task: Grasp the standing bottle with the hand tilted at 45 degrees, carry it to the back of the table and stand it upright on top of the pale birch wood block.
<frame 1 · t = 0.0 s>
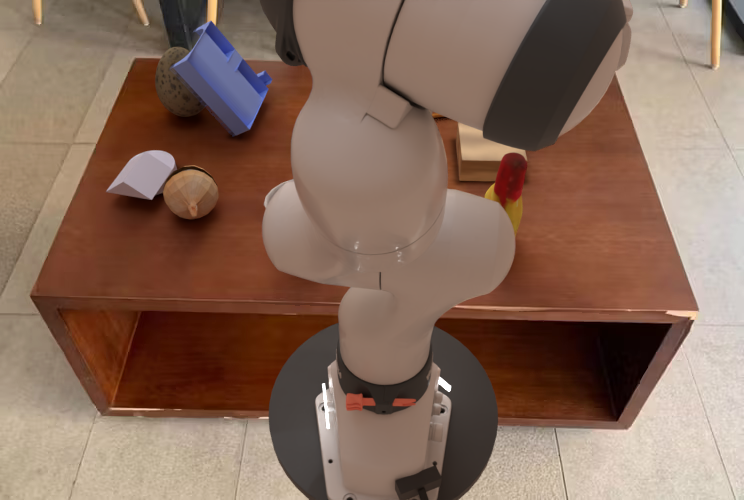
hand: (537, 94, 93), 31 cm above the table, tool pointing down, fingers open, 8 cm apart
decorative egg: (189, 113, 142), on the table, touching blue plastic box
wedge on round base: (127, 196, 120), point 3 cm above the table
bottle: (495, 247, 116), on the table
pencil: (500, 107, 143), point 1 cm above the table
birch block: (488, 161, 132), on the table
chess piece: (345, 150, 134), on the table
acorn: (194, 180, 124), point 2 cm above the table
plastic cup: (313, 249, 115), on the table
decorative sphere: (526, 31, 136), point 15 cm above the table
blue plastic box: (234, 69, 134), point 11 cm above the table, touching decorative egg
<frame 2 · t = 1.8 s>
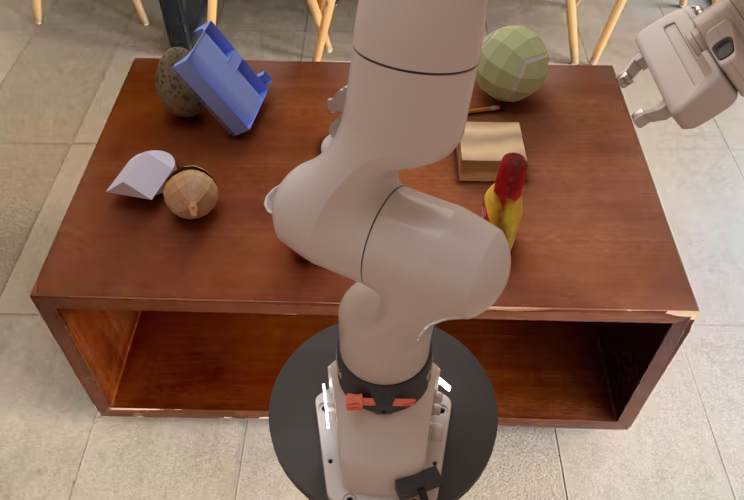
hand: (626, 101, 94), 30 cm above the table, tool tilted 45°, fingers open, 8 cm apart
nothing on the table moved.
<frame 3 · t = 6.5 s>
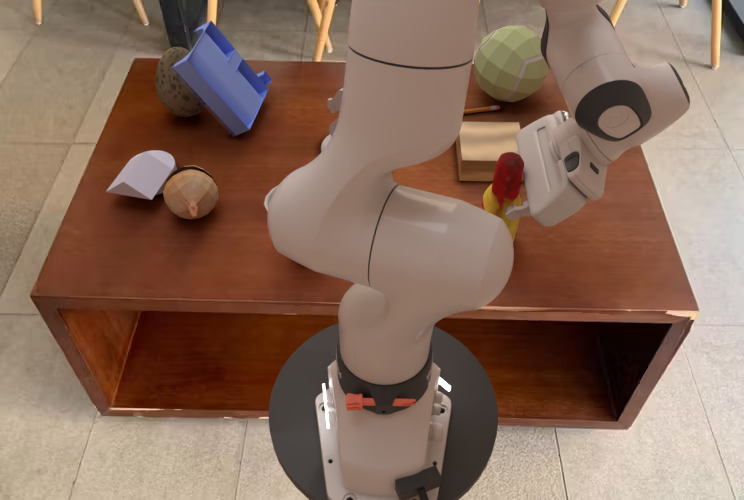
hand: (504, 194, 107), 12 cm above the table, tool tilted 45°, fingers closed on bottle, 8 cm apart
bottle: (495, 247, 116), on the table, touching gripper
everything else where it was.
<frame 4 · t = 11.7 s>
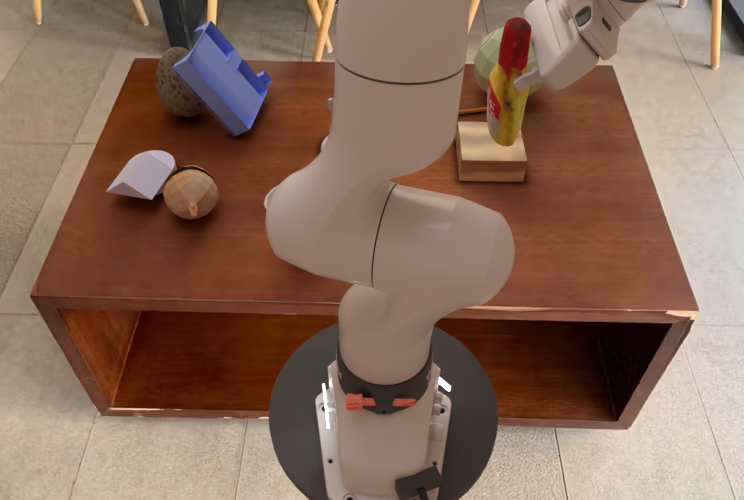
hand: (511, 68, 103), 28 cm above the table, tool tilted 45°, fingers closed on bottle, 8 cm apart
bottle: (503, 132, 112), point 16 cm above the table, touching gripper
everything else where it was.
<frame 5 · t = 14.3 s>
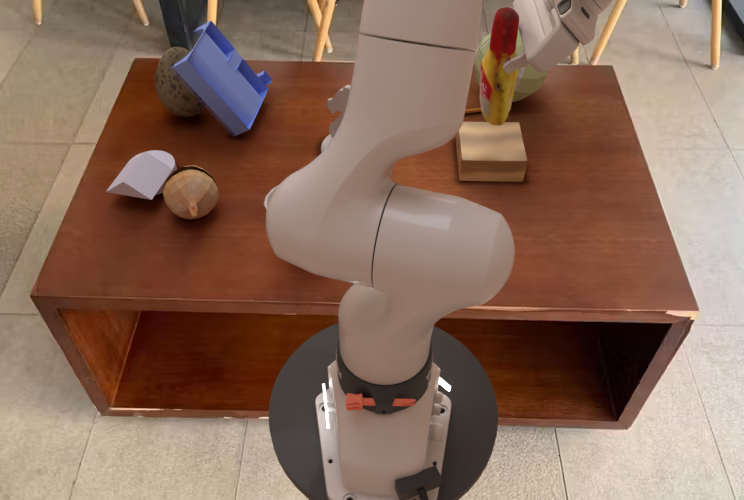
hand: (501, 54, 115), 23 cm above the table, tool tilted 45°, fingers closed on bottle, 8 cm apart
bottle: (494, 114, 123), point 11 cm above the table, touching gripper
everything else where it was.
when the fingers open (17 cm above the table, at t = 16.7 s): bottle stays where it is, resting on birch block.
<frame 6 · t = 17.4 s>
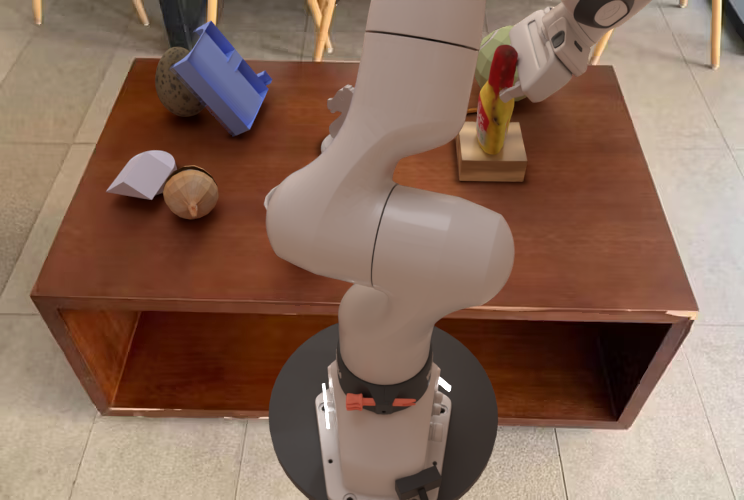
hand: (498, 82, 119), 18 cm above the table, tool tilted 45°, fingers open, 8 cm apart
bottle: (490, 142, 128), point 5 cm above the table, touching birch block
everything else where it was.
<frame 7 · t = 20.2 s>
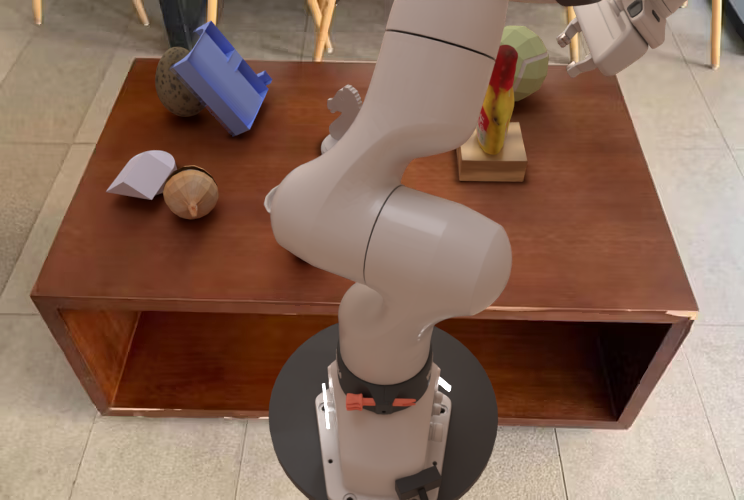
hand: (563, 57, 113), 24 cm above the table, tool tilted 45°, fingers open, 8 cm apart
nothing on the table moved.
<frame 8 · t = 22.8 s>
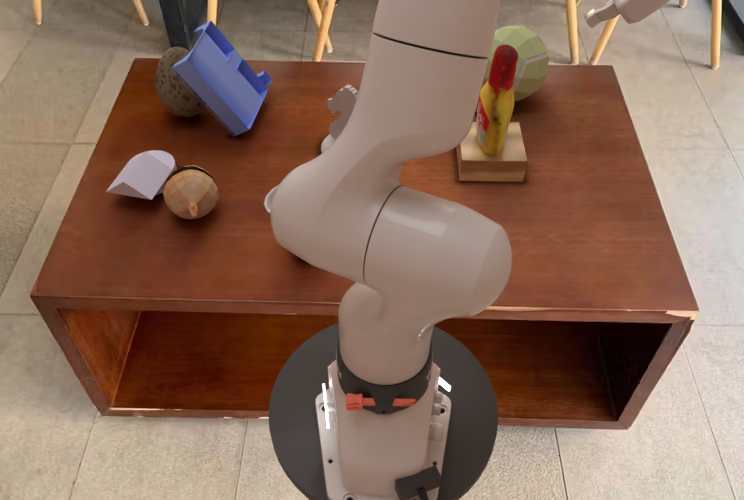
hand: (581, 7, 103), 34 cm above the table, tool tilted 45°, fingers open, 8 cm apart
nothing on the table moved.
at the end: bottle inside the target area on the birch block (0.4 cm from its centre), point 4.8 cm above the birch block's base; bottle tilted 0°; the gripper is holding nothing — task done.
